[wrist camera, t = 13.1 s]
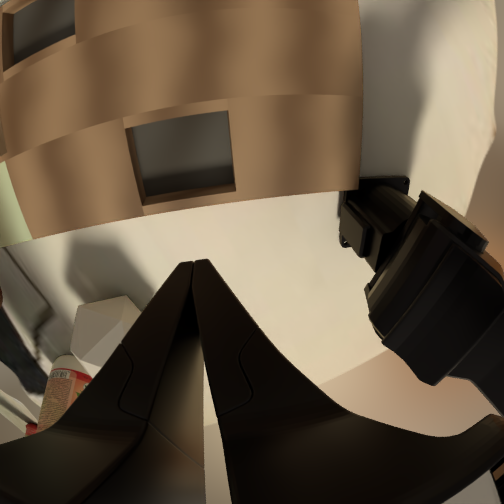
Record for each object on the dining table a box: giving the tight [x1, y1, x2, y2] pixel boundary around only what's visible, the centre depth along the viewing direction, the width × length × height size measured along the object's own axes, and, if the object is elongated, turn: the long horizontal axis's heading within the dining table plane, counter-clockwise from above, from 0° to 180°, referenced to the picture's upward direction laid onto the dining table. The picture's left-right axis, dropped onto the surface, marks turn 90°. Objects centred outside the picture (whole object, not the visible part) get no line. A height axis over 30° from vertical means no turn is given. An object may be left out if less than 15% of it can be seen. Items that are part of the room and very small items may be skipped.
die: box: [70, 295, 141, 378], centre depth 23 cm, size 8×9×10 cm
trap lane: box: [0, 0, 363, 248], centre depth 13 cm, size 32×20×4 cm, turn 94°
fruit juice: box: [36, 355, 93, 433], centre depth 20 cm, size 9×9×28 cm
